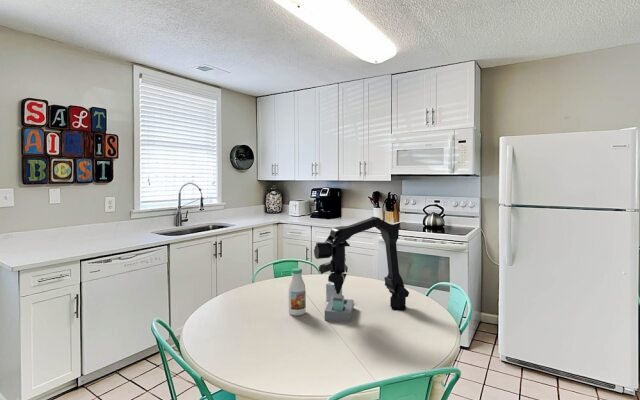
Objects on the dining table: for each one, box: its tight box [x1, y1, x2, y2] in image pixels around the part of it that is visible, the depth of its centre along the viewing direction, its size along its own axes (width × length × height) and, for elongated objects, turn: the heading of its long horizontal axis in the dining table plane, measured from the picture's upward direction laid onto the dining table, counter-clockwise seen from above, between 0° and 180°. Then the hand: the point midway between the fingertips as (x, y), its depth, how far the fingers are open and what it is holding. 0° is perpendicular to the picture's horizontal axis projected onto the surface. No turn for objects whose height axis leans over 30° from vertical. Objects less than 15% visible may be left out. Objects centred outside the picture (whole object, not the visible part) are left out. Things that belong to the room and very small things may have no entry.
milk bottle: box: [287, 267, 307, 317], centre depth 161 cm, size 8×8×20 cm
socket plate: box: [324, 298, 355, 323], centre depth 160 cm, size 11×16×4 cm
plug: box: [333, 294, 345, 311], centre depth 156 cm, size 4×4×9 cm
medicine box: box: [325, 282, 343, 302], centre depth 178 cm, size 8×4×9 cm, turn 143°
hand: (338, 292), depth 155 cm, fingers open, 4 cm apart
